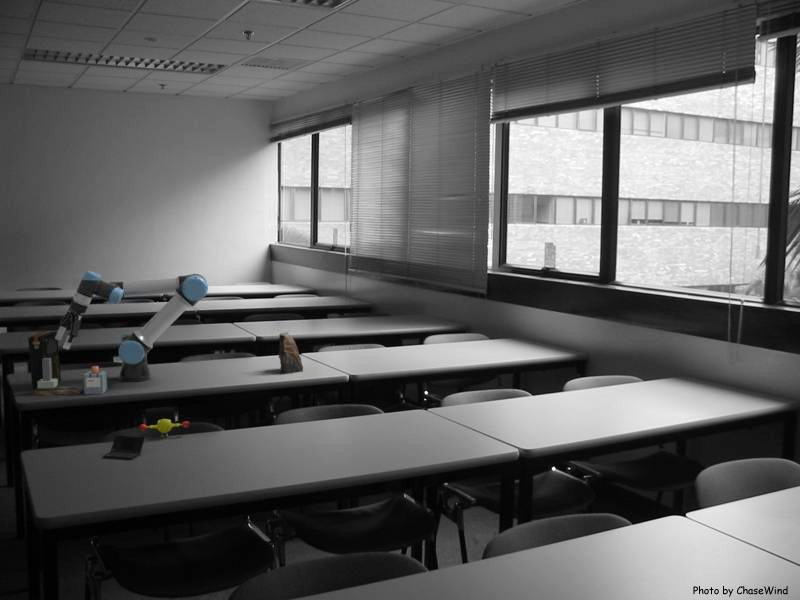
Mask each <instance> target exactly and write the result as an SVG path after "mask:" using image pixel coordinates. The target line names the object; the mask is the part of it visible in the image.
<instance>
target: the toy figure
mask: <svg viewBox="0 0 800 600" xmlns="http://www.w3.org/2000/svg"><path fill="white" fill-rule="evenodd" d="M179 426H182V427H183V428H189V427H190V422H189V421H187V420H185V421H182V423H172V421H171V419H168V418H162V419H159V420H158V421H157V424H155V425H150V426H147V425H146V424H145V423H142V424H141V423H140V425H139V426H138V430H139V431H141V432H143V431H145V430H147V428H148V429H157V430H158V432H159V433H161V436H160V437H161V438H164V434H165V437H167V438H168V437H169V434H168V433H169V432H170V431H171V430H172V428H174V427H179Z"/></svg>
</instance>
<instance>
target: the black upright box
mask: <svg viewBox="0 0 800 600" xmlns="http://www.w3.org/2000/svg"><path fill="white" fill-rule="evenodd" d="M57 332H58V331H55V330H54V331H52V330H51V331H50V330H49V331H48V330H47V331H43V332H40V333H37V334H35V335H32V336H29V337H28V338H27V340H28V351H29V353H28V354H29V363H30V374H31V379H30V380H31V388H32V389H37V387H38V386H37V382H38V381H39V380H41V379H43V367H42V359H43V358H51V367H52V379H58V384H59V383H60V382H61V380H62V376H61V367H60V364H61V363H60V352H59V351H60V350H59V340H57V339H55V337H56V335H57Z"/></svg>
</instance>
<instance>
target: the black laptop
mask: <svg viewBox="0 0 800 600" xmlns="http://www.w3.org/2000/svg"><path fill="white" fill-rule="evenodd" d="M144 443H145V437H142V436H130V435H126V436H125V435H115V437H114V439H113V443H112V446H111V450H110V451H109V452H107V453H105V454H104V455H102V459H111V460H124V461H125V460H126V461H127V460H129V461H132V460H135V459H136V458H138V457H139V456H141V455H142V454H141V453H142V449H143V446H144Z"/></svg>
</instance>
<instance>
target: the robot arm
mask: <svg viewBox="0 0 800 600" xmlns="http://www.w3.org/2000/svg"><path fill="white" fill-rule="evenodd" d="M208 290H209V285H208V281H207V280H206V278H205V277H204V276H203V275H201V274H198V273H191V274H188V275H178V276H177V277H176V278H162V279H145V280H144V279H143V280H128V281H110V282H106V281H103V280H102V275H100V274H98V273H97V272H95V271H92V270H87V271H85V272H84V275H83V276H82V278H81V280H80V281H79V285H78V287H77V289H76V292H75V293H74V294H73V298H72V300H71V302H70V304H69V308H68V310H67V312H65V314H64V316H63V317H62V319H61V320H60V321H59V324H60V326H59V328H58V331H56V332H57V335H56V337H55V339H57V340H58V341H62V339H63V337H64V335H65V332H66V329H68V326H69V325H70V329H69V333H68V334H67V337H66V339H65V342H64V343H63V346H62V348H63V349H66V350H70V348H71V345H72V343H73V341H74V339H75V338H77V337H78V335H79V331H80V327H81V324H82V320H83V316H81V315H82V314H86V312H87V310H88V308H89V305H90V304H91V302H92V299H93V296H95V297H99V298H101V299H104V300H106V301H108V302H110V303H114V304H115V305H116V304H119V303H120V302H121V300H122V298H127V297H128V298H129V297H143V296H158V295H172V294H173V296H172V297H171V298H170V299H169V301H167V302H166V303H165V304H164V305H163V306H162V307H161V309H159V311H157V312H156V313H155V314H154V315H153V317H151V318H150V319H149V321H148V322H147V323H146V324H144V325H143V326H142V328H140V330H134V331H133V332H129V333H127V332H126V333H123V334H121V338H120V340H121V344H120V346H119V348H118V357H119V358H120V361H121V367H120V371H119V373H118V380H119V381H121V382H129V383H131V382H133V383H134V382H141V381H143V382H144V381H147V380H150V379H152V372H151V370H150V368H149V365H148V359H147V357H148V356H147V354H149V352H150V351H151V350H152V349H153V348H154V346H153V345H154V342H156V340H157V339H158V338H160V337H161V336H162V335H163V333H165V331H166V330H167V329H168V328H169V327H170V326H171V325H172V324H173V323H174V322H175V321H176V320H177V319H179V317H180V316H181V315H182V314H183V313H184V312H185V311H187V309H188V308H193V307H194V306H195V305H197V303H199V302H200V301H201V300H203V299H204V298H205V297H206V296H207V294H208Z"/></svg>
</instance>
